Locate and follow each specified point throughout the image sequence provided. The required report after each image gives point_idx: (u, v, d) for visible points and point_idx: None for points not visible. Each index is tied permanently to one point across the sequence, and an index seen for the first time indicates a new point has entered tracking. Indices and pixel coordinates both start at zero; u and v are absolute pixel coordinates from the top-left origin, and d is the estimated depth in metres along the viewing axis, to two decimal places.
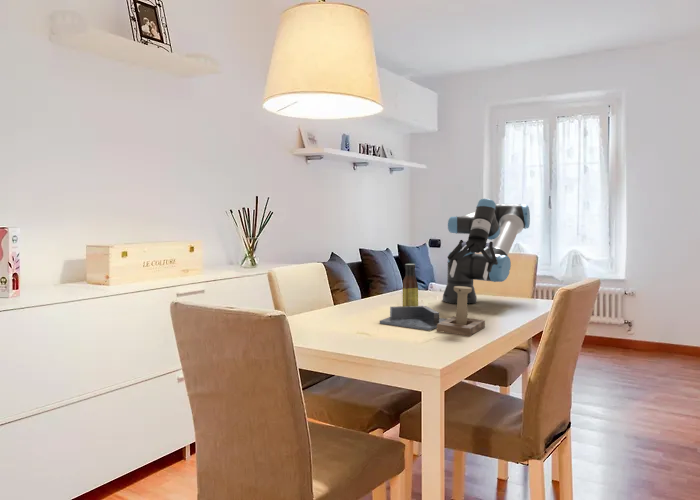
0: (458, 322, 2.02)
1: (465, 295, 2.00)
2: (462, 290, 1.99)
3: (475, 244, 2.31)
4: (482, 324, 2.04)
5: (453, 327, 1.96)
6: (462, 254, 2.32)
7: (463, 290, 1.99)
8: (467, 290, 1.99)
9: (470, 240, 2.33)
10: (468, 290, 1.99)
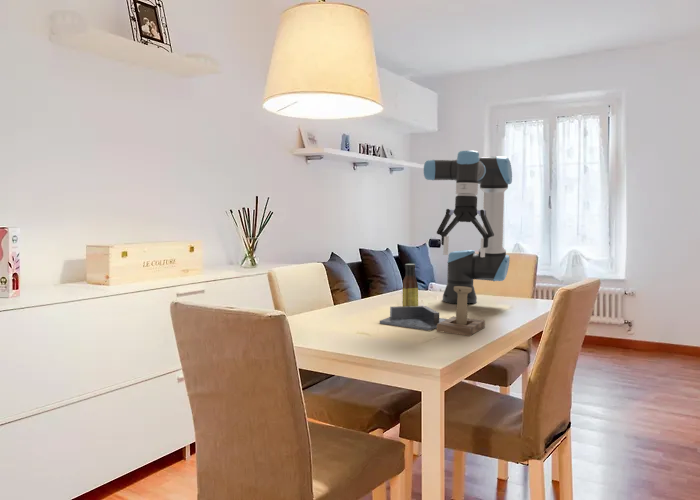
0: (458, 322, 2.02)
1: (465, 295, 2.00)
2: (462, 290, 1.99)
3: (464, 214, 2.00)
4: (482, 324, 2.04)
5: (453, 327, 1.96)
6: (452, 226, 2.03)
7: (463, 290, 1.99)
8: (467, 290, 1.99)
9: (458, 209, 2.01)
10: (468, 290, 1.99)
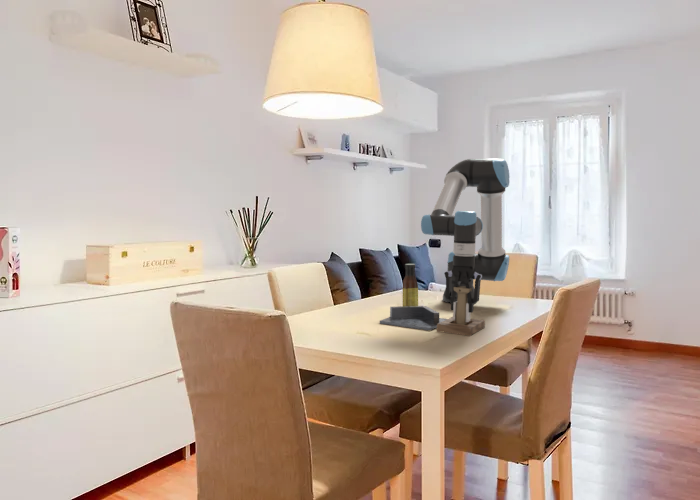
0: (458, 322, 2.02)
1: (465, 295, 2.00)
2: (462, 290, 1.99)
3: (462, 272, 2.00)
4: (482, 324, 2.04)
5: (453, 327, 1.96)
6: None
7: (463, 290, 1.99)
8: (467, 290, 1.99)
9: (454, 267, 2.02)
10: (468, 290, 1.99)
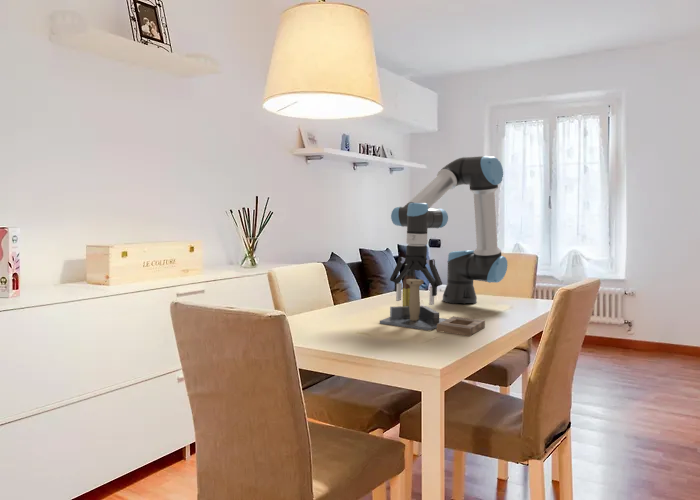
0: (411, 313, 2.10)
1: (417, 287, 2.09)
2: (414, 282, 2.08)
3: (415, 263, 2.09)
4: (482, 324, 2.04)
5: (453, 327, 1.96)
6: (404, 274, 2.12)
7: (414, 282, 2.08)
8: (418, 282, 2.08)
9: (408, 257, 2.10)
10: (419, 282, 2.08)
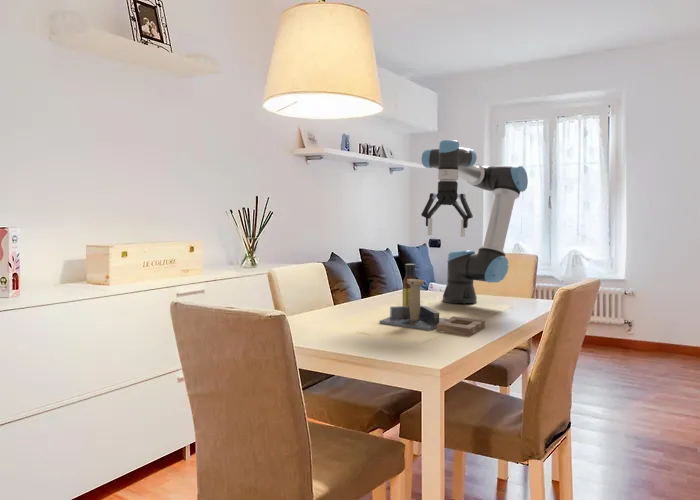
0: (411, 313, 2.10)
1: (418, 287, 2.09)
2: (414, 283, 2.08)
3: (446, 198, 2.20)
4: (482, 324, 2.04)
5: (453, 327, 1.96)
6: (435, 209, 2.24)
7: (415, 282, 2.08)
8: (419, 283, 2.08)
9: (440, 193, 2.22)
10: (420, 283, 2.08)
